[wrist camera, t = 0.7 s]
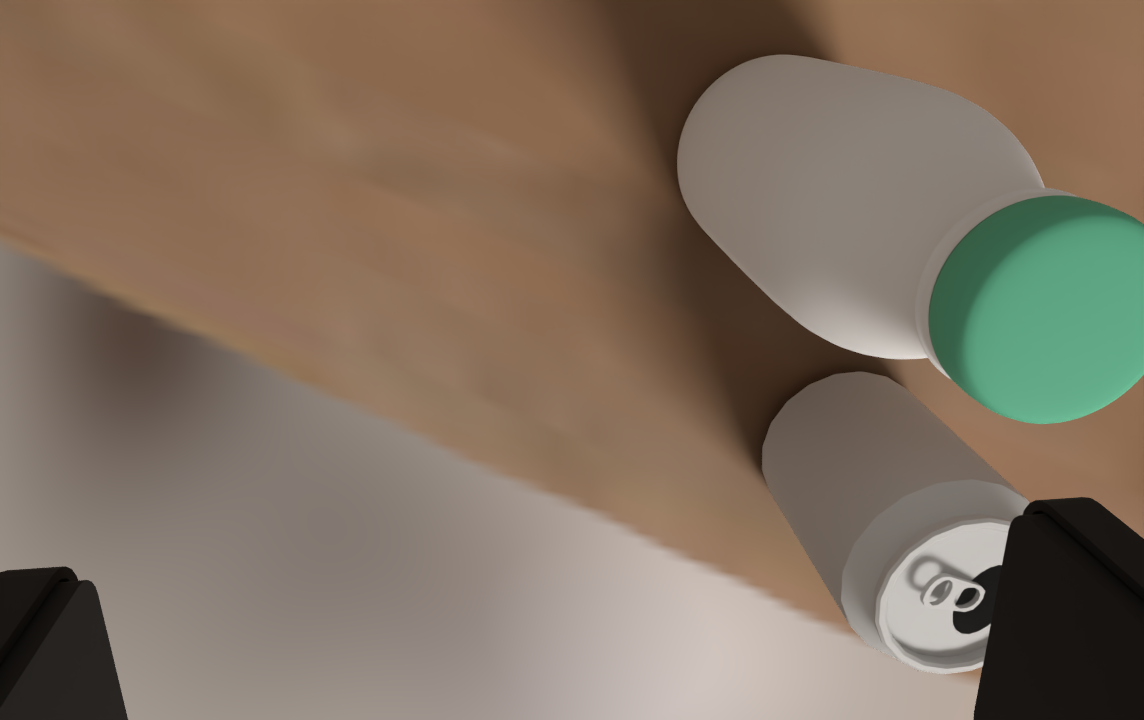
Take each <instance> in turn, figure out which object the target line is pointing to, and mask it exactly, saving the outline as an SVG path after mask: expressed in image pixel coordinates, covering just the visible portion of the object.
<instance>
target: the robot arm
mask: <svg viewBox="0 0 1144 720" xmlns="http://www.w3.org/2000/svg"><path fill="white" fill-rule="evenodd" d="M0 720H128V718H127V714H126V709H125V705H124V701H123V697H122V693H121V688H120V684H119V680H118V676H117V672H116V668H115V664H114V659H113V655H112V651H111V647H110V642H109V638H108V634H107V630H106V626H105V622H104V617H103V614H102V609H101V605H100V601H99V597H98V593H97V590H96V587H95V586H94V584H93V583H92V582H91V581H89V580H83V581H78V579H77V576H76V575H75V573H74V572H73V570H72V569H70V568H68V567H51V568H37V569H23V570H22V569H21V570H7V571H4V572H0ZM974 720H1144V539H1143V538H1142V537H1141V536H1139V535H1138V534H1137V533H1136V532H1134V531H1133V530H1132V529H1131V528H1129V527H1128V526H1127V525H1126V524H1124V523H1123V522H1122V521H1121V520H1120V519H1118V518H1117V517H1116V516H1115V515H1113V514H1112V513H1111V512H1110V511H1108V510H1107V509H1106V508H1105V507H1103V506H1102V505H1101V504H1100V503H1098V502H1097V501H1095V500H1093V499H1091V498H1085V497H1079V498H1065V499H1050V500H1035V501H1033V502H1031V503H1029V504H1028V506H1027V507H1026V508H1025V510H1024V512H1023V515H1019V516H1017V517H1015V518H1014V519H1013V520H1012V522H1011V524H1010V527H1009V530H1008V536H1007V541H1006V546H1005V551H1004V557H1003V562H1002V567H1001V573H1000V578H999V583H998V588H997V594H996V599H995V604H994V610H993V615H992V620H991V625H990V631H989V636H988V641H987V647H986V652H985V657H984V662H983V668H982V673H981V678H980V684H979V689H978V695H977V699H976V705H975V710H974Z"/></svg>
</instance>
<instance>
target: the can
mask: <svg viewBox="0 0 1144 720" xmlns="http://www.w3.org/2000/svg"><path fill="white" fill-rule="evenodd" d="M762 472H763V474H764V477H765V480H766V483H767V485H768V488H769V491H770V493H771V495H772V496H773V498H774V500H775V501H776V503H777V505H778V506H779V508H780V510H781V511H782V513H783V515H784V516H785V518H786V520H787V521H788V523H789V525H790V526H791V528H792V530H793V531H794V533H795V535H796V536H797V538H798V540H799V541H800V543H801V545H802V546H803V548H804V550H805V551H806V553H807V555H808V556H809V558H810V560H811V561H812V563H813V565H814V566H815V568H816V570H817V572H818V573H819V575H820V577H821V578H822V580H823V582H824V583H825V585H826V587H827V588H828V590H829V592H830V593H831V595H832V597H833V598H834V600H835V602H836V603H837V605H838V607H839V608H840V610H841V612H842V613H843V615H844V617H845V618H846V620H847V622H848V623H849V625H850V626H851V627H852V628H853V630H854V631H855V632H856V633H857V634H858V635H859V636H860V637H861V638H862V640H863V641H864V642H865V643H866V644H867V645H869V646H871V647H873V648H875V649H877V650H879V651H881V652H883V653H885V654H887V655H889V656H891V657H895V658H896V660H898V661H900V662H902V663H904V664H906V665H908V666H910V667H912V668H914V669H916V670H918V671H924V672H931V673H938V674H949V673H957V672H965V671H971V670H974V669H977V668H979V667H982V666H983V662H984V657H985V652H986V647H987V641H988V636H989V631H990V625H991V620H992V615H993V610H994V604H995V599H996V594H997V588H998V583H999V578H1000V573H1001V567H1002V562H1003V557H1004V551H1005V546H1006V541H1007V536H1008V530H1009V527H1010V524H1011V522H1012V520H1013V519H1014V518H1015V517H1017V516H1019V515H1023V512H1024V510H1025V508H1026V507H1027V506H1028V504H1029V501H1028V500H1027V499H1026V498H1025V497H1024V496H1023V495H1022V494H1020V493H1019V492H1018V491H1017V490H1016V489H1015V488H1014V487H1013V486H1012V485H1011V484H1010V483H1008V482H1007V481H1006V480H1005V479H1004V478H1003V477H1002V476H1001V475H1000V474H999V473H998V472H997V471H995V470H994V469H993V468H992V467H991V466H990V465H989V464H988V463H987V462H986V461H985V460H983V459H982V458H981V457H980V456H979V455H978V454H977V453H976V452H975V451H974V450H973V449H971V448H970V447H969V446H968V445H967V444H966V443H965V442H964V441H963V440H962V439H961V438H959V437H958V436H957V435H956V434H955V433H954V432H953V431H952V430H951V429H950V428H949V427H948V426H946V425H945V424H944V423H943V422H942V421H941V420H940V419H939V418H938V417H937V416H936V415H934V414H933V413H932V412H931V411H930V410H929V409H928V408H927V407H926V406H925V405H924V404H922V403H921V402H920V401H919V400H918V399H917V398H916V397H915V396H914V395H913V394H912V393H910V392H909V391H908V390H907V389H906V388H904V387H903V386H901V385H899V384H898V383H896V382H894V381H893V380H891V379H890V378H888V377H886V376H881V375H877V374H872V373H867V372H862V371H860V372H851V373H841V374H834V375H831V376H829V377H827V378H824V379H822V380H819V381H817V382H814V383H812V384H809V385H808V386H807V387H805V388H804V389H803V390H801V391H800V392H799V393H797V394H796V395H795V396H793V397H792V398H791V399H790V400H788V401H787V402H786V404H785V405H784V406H783V408H782V409H781V410H780V412H779V413H778V414H777V416H776V417H775V418H774V420H773V421H772V422H771V424H770V427H769V430H768V433H767V435H766V438H765V441H764V444H763V447H762Z"/></svg>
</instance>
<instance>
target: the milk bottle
mask: <svg viewBox="0 0 1144 720" xmlns="http://www.w3.org/2000/svg"><path fill="white" fill-rule="evenodd" d="M677 173H678V181H679V186H680V190H681V193H682V196H683V199H684V201H685V203H686V206H687V208H688V209H689V211H690V213H691V215H692V216H693V217H694V219H695V220H696V221H697V223H698V224H699V225H700V227H701V228H702V229H703V230H704V231H705V232H706V234H707V235H708V236H709V237H710V238H711V239H712V240H713V241H714V242H715V243H716V244H717V245H718V246H719V247H720V248H721V249H722V250H723V251H724V252H725V253H726V254H727V255H728V256H729V257H730V259H731V260H732V261H733V262H734V263H735V264H736V265H737V266H738V267H739V268H740V269H741V270H742V271H743V272H744V273H745V274H746V275H747V276H748V277H749V278H750V279H751V280H752V281H753V282H754V283H755V284H756V285H757V286H758V287H759V288H760V289H761V290H762V291H764V292H765V293H766V294H767V295H768V296H769V297H770V298H771V299H772V300H773V301H774V302H775V303H776V304H777V305H778V306H780V307H781V308H782V309H783V310H784V311H785V312H787V313H788V314H789V315H790V316H791V317H793V318H794V319H795V320H796V321H797V322H798V323H800V324H801V325H802V326H804V327H805V328H807V329H808V330H809V331H811V332H813V333H815V334H816V335H818V336H820V337H822V338H823V339H825V340H827V341H829V342H831V343H833V344H835V345H838V346H840V347H842V348H845V349H848V350H851V351H854V352H857V353H861V354H864V355H869V356H875V357H881V358H889V359H921V358H929V360H930V361H931V362H932V363H933V365H934V366H935V367H936V368H937V369H938V370H939V371H940V372H941V373H943V374H944V375H945V376H947V377H948V378H950V379H951V380H953V381H954V382H955V383H956V384H957V385H958V386H959V387H960V388H961V389H962V390H964V391H965V392H966V393H967V394H968V395H969V396H971V397H972V398H973V399H975V400H976V401H978V402H979V403H981V404H982V405H983V406H985V407H986V408H988V409H990V410H991V411H993V412H995V413H997V414H999V415H1002V416H1004V417H1008V418H1011V419H1015V420H1018V421H1022V422H1027V423H1036V424H1051V423H1060V422H1065V421H1070V420H1073V419H1077V418H1080V417H1083V416H1085V415H1088V414H1091V413H1093V412H1095V411H1097V410H1099V409H1101V408H1103V407H1104V406H1106V405H1108V404H1110V403H1111V402H1113V401H1114V400H1116V399H1117V398H1119V397H1120V396H1121V395H1122V394H1124V393H1125V392H1126V391H1127V390H1129V389H1130V388H1131V387H1132V386H1133V385H1134V384H1135V383H1136V382H1137V381H1138V380H1139V379H1140V378H1141V377H1142V376H1143V375H1144V224H1142V223H1141V222H1140V221H1138V220H1137V219H1135V218H1134V217H1132V216H1130V215H1128V214H1126V213H1124V212H1121V211H1119V210H1117V209H1114V208H1112V207H1110V206H1107V205H1104V204H1101V203H1098V202H1095V201H1091V200H1087V199H1083V198H1080V197H1078V196H1076V195H1074V194H1071V193H1068V192H1065V191H1061V190H1057V189H1050V188H1045V187H1044V184H1043V182H1042V180H1041V177H1040V175H1039V173H1038V171H1037V169H1036V166H1035V165H1034V163H1033V161H1032V159H1031V157H1030V155H1029V154H1028V153H1027V151H1026V150H1025V148H1024V147H1023V146H1022V144H1021V143H1020V142H1019V141H1018V139H1017V138H1016V137H1015V136H1014V135H1013V134H1012V133H1011V131H1010V130H1009V129H1008V128H1007V127H1005V126H1004V125H1003V124H1002V123H1001V122H1000V121H998V120H997V119H996V118H995V117H994V116H993V115H991V114H990V113H989V112H987V111H986V110H984V109H983V108H981V107H980V106H978V105H976V104H974V103H972V102H970V101H969V100H967V99H965V98H963V97H961V96H959V95H957V94H955V93H952V92H950V91H947V90H944V89H941V88H938V87H935V86H931V85H928V84H925V83H922V82H919V81H915V80H911V79H907V78H903V77H899V76H895V75H890V74H886V73H882V72H877V71H873V70H869V69H864V68H860V67H855V66H850V65H845V64H841V63H836V62H831V61H826V60H821V59H816V58H811V57H805V56H797V55H770V56H764V57H760V58H756V59H753V60H750V61H747V62H745V63H742V64H740V65H738V66H736V67H734V68H733V69H731V70H729V71H728V72H726V73H725V74H723V75H722V76H721V77H720V78H718V79H717V80H716V81H715V82H714V83H713V84H712V85H711V86H709V87H708V89H707V90H706V91H705V92H704V93H703V94H702V95H701V97H700V98H699V100H698V101H697V102H696V104H695V105H694V107H693V109H692V110H691V112H690V114H689V116H688V118H687V120H686V122H685V125H684V128H683V130H682V134H681V137H680V141H679V147H678V155H677Z"/></svg>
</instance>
